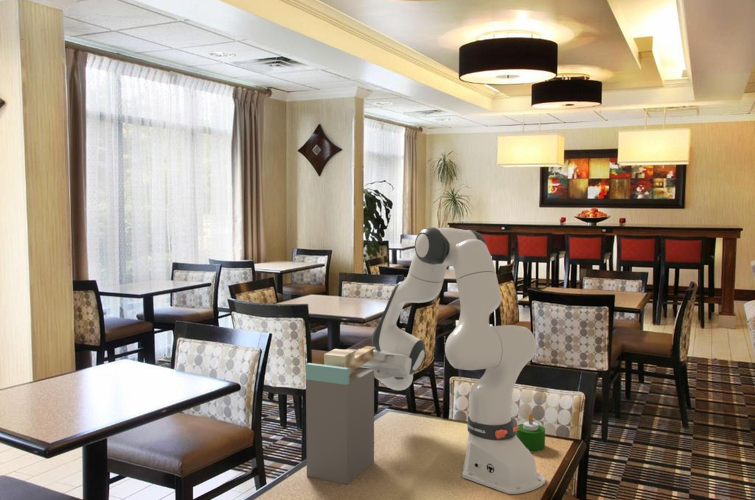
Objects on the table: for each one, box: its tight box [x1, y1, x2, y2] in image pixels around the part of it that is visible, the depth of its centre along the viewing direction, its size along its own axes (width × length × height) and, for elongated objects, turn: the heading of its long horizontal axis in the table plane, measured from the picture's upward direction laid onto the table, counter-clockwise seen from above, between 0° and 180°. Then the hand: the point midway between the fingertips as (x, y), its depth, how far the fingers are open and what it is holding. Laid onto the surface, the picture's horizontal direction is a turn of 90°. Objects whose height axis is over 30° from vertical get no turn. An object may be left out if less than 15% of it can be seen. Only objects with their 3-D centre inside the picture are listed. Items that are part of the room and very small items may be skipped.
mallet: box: [323, 345, 376, 376], centre depth 180 cm, size 22×6×6 cm, turn 155°
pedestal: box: [305, 362, 375, 485], centre depth 175 cm, size 16×12×30 cm
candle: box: [516, 413, 546, 453], centre depth 192 cm, size 8×8×10 cm
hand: (366, 352), depth 188 cm, fingers closed on mallet, 3 cm apart
